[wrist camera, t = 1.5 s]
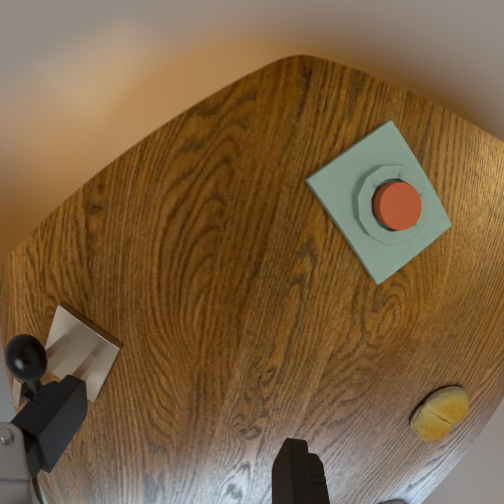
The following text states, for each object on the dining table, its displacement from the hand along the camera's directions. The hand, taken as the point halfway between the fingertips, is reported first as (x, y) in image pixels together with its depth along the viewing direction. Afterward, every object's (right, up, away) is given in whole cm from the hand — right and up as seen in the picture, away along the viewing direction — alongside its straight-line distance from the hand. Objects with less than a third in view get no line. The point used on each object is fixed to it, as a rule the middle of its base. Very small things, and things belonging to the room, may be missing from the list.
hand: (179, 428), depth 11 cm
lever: (-16, -4, +12) cm, 20 cm away
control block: (+15, +12, +19) cm, 27 cm away
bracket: (-19, -6, +24) cm, 31 cm away
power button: (+15, +11, +15) cm, 24 cm away
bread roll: (+29, -15, +25) cm, 41 cm away
